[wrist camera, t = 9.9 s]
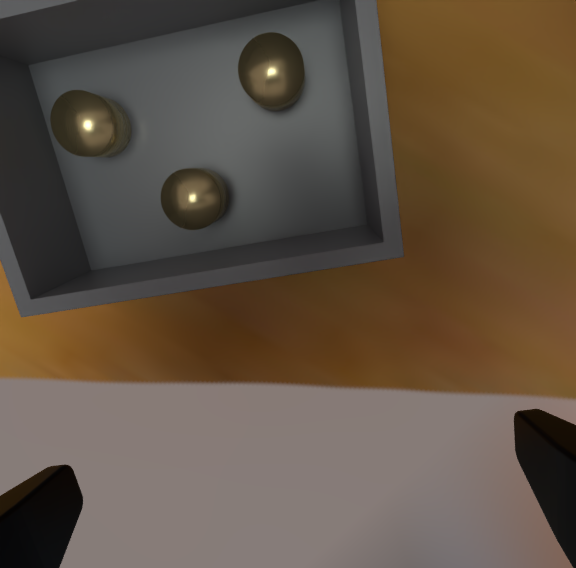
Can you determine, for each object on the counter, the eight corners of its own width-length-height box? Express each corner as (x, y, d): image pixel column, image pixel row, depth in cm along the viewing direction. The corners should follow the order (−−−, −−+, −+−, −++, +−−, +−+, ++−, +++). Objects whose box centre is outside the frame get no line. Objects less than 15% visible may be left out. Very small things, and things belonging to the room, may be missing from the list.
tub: (350, -20, 17) (366, -94, 12) (381, 233, 19) (404, 256, 14) (19, 55, 18) (-88, 16, 13) (89, 281, 21) (21, 317, 16)
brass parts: (299, 39, 17) (298, 25, 15) (324, 203, 18) (325, 207, 17) (64, 90, 18) (37, 82, 16) (108, 241, 19) (88, 248, 18)
